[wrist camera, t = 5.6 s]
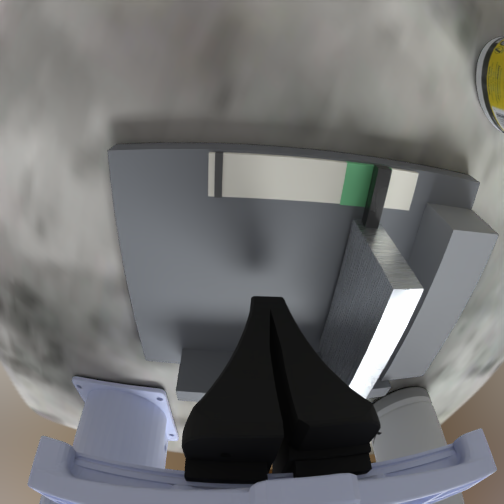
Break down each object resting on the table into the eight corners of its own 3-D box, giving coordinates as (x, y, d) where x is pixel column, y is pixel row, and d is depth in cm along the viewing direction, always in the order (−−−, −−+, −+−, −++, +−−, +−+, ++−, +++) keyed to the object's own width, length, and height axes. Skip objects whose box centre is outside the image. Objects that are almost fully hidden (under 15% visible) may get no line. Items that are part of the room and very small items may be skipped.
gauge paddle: (338, 344, 18) (356, 413, 14) (319, 344, 18) (333, 415, 14) (391, 164, 12) (451, 218, 8) (365, 161, 12) (419, 215, 8)
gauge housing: (397, 350, 21) (415, 395, 17) (148, 348, 20) (136, 399, 16) (469, 175, 13) (516, 210, 10) (116, 144, 13) (74, 176, 9)
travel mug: (349, 412, 25) (383, 614, 9) (414, 377, 23) (472, 590, 6) (379, 426, 28) (412, 595, 11) (434, 396, 25) (484, 571, 9)
